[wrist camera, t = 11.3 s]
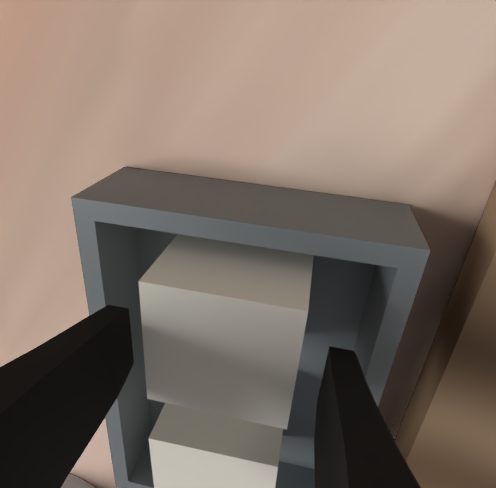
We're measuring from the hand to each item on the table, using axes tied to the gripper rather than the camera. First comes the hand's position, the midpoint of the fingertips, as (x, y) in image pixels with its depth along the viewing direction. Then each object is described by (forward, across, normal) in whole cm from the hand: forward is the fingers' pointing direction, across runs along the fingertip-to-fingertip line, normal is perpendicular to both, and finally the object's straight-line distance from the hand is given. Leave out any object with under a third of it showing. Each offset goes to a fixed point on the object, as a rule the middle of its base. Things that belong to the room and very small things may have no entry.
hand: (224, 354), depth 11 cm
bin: (+4, 0, +3) cm, 5 cm away
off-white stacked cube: (+3, 0, 0) cm, 3 cm away
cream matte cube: (+3, 0, +5) cm, 6 cm away
